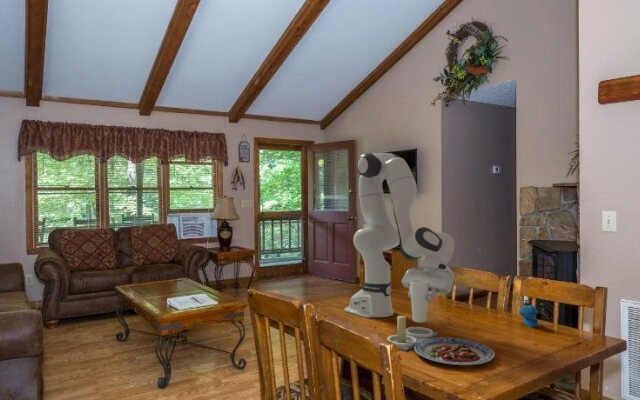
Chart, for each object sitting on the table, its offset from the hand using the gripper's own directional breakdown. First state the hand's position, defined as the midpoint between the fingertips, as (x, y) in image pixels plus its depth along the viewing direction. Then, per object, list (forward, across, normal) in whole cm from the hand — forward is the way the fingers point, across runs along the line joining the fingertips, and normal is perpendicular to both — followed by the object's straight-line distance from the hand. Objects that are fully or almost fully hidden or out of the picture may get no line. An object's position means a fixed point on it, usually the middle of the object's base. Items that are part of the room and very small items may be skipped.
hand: (418, 298), depth 177 cm
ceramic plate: (+17, +20, +4) cm, 26 cm away
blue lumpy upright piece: (-20, +24, +41) cm, 52 cm away
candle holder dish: (+14, 0, +6) cm, 16 cm away
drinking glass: (+6, 0, +7) cm, 9 cm away
